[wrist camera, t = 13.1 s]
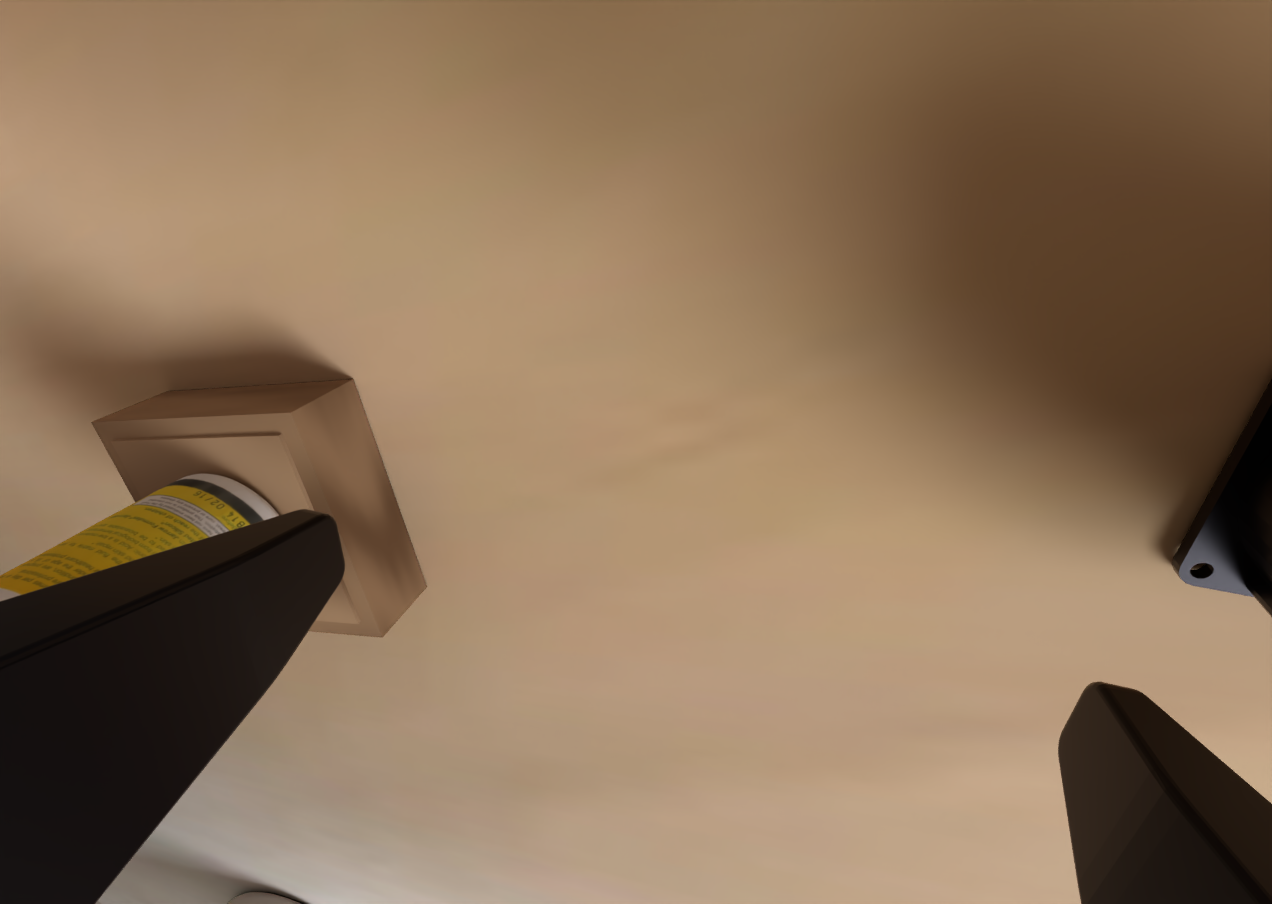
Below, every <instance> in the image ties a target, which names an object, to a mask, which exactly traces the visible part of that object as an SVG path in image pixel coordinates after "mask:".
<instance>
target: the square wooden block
mask: <svg viewBox="0 0 1272 904" xmlns="http://www.w3.org/2000/svg"><path fill="white" fill-rule="evenodd" d="M91 423H92V424H93V426H94V428H95V430H96V432H97V433H98V435H99V437H100V439H101V441H102V443H103V444H104V446H105V448H106V450H107V452H108V453H109V455H110V457H111V459H112V461H113V463H114V464H115V466H116V468H117V470H118V472H119V473H120V475H121V477H122V479H123V481H124V483H125V484H126V486H127V488H128V490H129V492H130V493H131V495H132V497H133V499H134V501H135V502H137V501H139V500H141V499H143V498H145V497H146V496H148V495H150V494H152V493H153V492H155V491H157V490H159V489H161V488H163V487H165V486H167V485H168V484H170V483H172V482H175V481H177V480H179V479H181V478H183V477H186V476H190V475H193V474H214V475H219V476H224V477H227V478H230V479H232V480H235V481H237V482H239V483H241V484H243V485H244V486H246V487H248V488H249V489H251V490H252V491H254V492H255V493H257V494H258V495H259V496H261V497H262V498H263V499H264V500H265V501H267V502H268V503H269V504H270V505H271V506H272V507H273V508H274V510H275V511H276V512H277V513H278V514H279V516H280V515H283V514H286V513H289V512H293V511H296V510H300V509H308V510H313V511H318V512H322V513H327V514H329V515H331V516H332V517H333V518H334V519H335V521H336V523H337V526H338V531H339V536H340V541H341V545H342V550H343V555H344V560H345V571H344V576H343V578H342V580H341V582H340V584H339V586H338V587H337V589H336V590H335V592H334V593H333V595H332V596H331V598H330V599H329V601H328V602H327V604H326V605H325V607H324V608H323V610H322V611H321V613H320V614H319V616H318V617H317V619H316V620H315V622H314V623H313V625H312V626H311V628H310V629H309V631H312V632H323V633H335V634H347V635H359V636H371V637H383V636H384V635H385V634H386V633H387V632H388V631H389V630H390V628H391V627H392V626H393V625H394V624H395V623H396V622H397V620H398V619H399V618H400V617H401V616H402V615H403V614H404V613H405V611H406V610H407V609H408V608H409V607H410V606H411V605H412V603H413V602H414V601H415V600H416V599H417V598H418V597H419V595H420V594H421V593H422V592H423V591H424V590H425V589H426V587H427V586H426V583H425V580H424V577H423V574H422V572H421V569H420V566H419V563H418V560H417V557H416V555H415V552H414V549H413V546H412V543H411V541H410V538H409V535H408V532H407V529H406V526H405V524H404V521H403V518H402V515H401V512H400V510H399V507H398V504H397V501H396V498H395V496H394V493H393V490H392V487H391V484H390V481H389V479H388V476H387V473H386V470H385V467H384V465H383V462H382V459H381V456H380V453H379V451H378V448H377V445H376V442H375V439H374V436H373V434H372V431H371V428H370V425H369V422H368V420H367V417H366V414H365V411H364V408H363V405H362V403H361V400H360V397H359V394H358V391H357V389H356V386H355V383H354V380H353V379H350V380H334V381H319V382H304V383H289V384H274V385H258V386H243V387H228V388H213V389H198V390H183V391H167V392H165V393H162V394H160V395H157V396H155V397H152V398H150V399H147V400H145V401H142V402H140V403H137V404H135V405H132V406H130V407H128V408H125V409H123V410H120V411H118V412H115V413H113V414H110V415H108V416H105V417H103V418H100V419H98V420H96V421H93V422H91Z"/></svg>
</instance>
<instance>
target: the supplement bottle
mask: <svg viewBox="0 0 1272 904" xmlns="http://www.w3.org/2000/svg"><path fill="white" fill-rule="evenodd" d="M276 516H279V514H278V513H277V512H276V511H275V510H274V508H273V507H272V506H271V505H270V504H269V503H268V502H267V501H265V500H264V499H263V498H262V497H261V496H259V495H258V494H257V493H255V492H254V491H252V490H251V489H249V488H248V487H246V486H244V485H243V484H241V483H239V482H237V481H235V480H232V479H230V478H227V477H224V476H219V475H214V474H193V475H190V476H186V477H183V478H181V479H179V480H177V481H175V482H172V483H170V484H168V485H167V486H165V487H163V488H161V489H159V490H157V491H155V492H153V493H152V494H150V495H148V496H146V497H145V498H143V499H141V500H139V501H137V502H135V503H134V504H132V505H130V506H128V507H126V508H124V509H122V510H121V511H119V512H117V513H115V514H113V515H111V516H109V517H107V518H106V519H104V520H102V521H100V522H98V523H96V524H95V525H93V526H91V527H89V528H87V529H86V530H84V531H82V532H80V533H78V534H76V535H75V536H73V537H71V538H69V539H67V540H66V541H64V542H62V543H60V544H58V545H57V546H55V547H53V548H51V549H49V550H48V551H46V552H44V553H42V554H40V555H38V556H36V557H35V558H33V559H31V560H29V561H27V562H25V563H23V564H21V565H20V566H18V567H16V568H14V569H12V570H10V571H8V572H6V573H5V574H3V575H1V576H0V601H3V600H6V599H9V598H12V597H16V596H19V595H22V594H26V593H29V592H32V591H35V590H39V589H42V588H45V587H48V586H52V585H55V584H58V583H61V582H65V581H68V580H71V579H74V578H78V577H81V576H84V575H87V574H91V573H94V572H97V571H100V570H104V569H107V568H110V567H113V566H117V565H120V564H123V563H126V562H130V561H133V560H136V559H140V558H143V557H146V556H149V555H153V554H156V553H159V552H162V551H166V550H169V549H172V548H175V547H179V546H182V545H185V544H188V543H192V542H195V541H198V540H201V539H205V538H208V537H211V536H214V535H218V534H221V533H224V532H227V531H231V530H234V529H237V528H240V527H244V526H247V525H250V524H253V523H257V522H260V521H263V520H267V519H270V518H273V517H276Z"/></svg>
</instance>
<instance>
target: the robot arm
mask: <svg viewBox="0 0 1272 904" xmlns="http://www.w3.org/2000/svg"><path fill="white" fill-rule="evenodd" d="M1199 563H1206V564H1205V565H1204V566H1203V567H1202V568H1199V569H1197V570H1190V569H1191V568H1192V567H1193V566H1194V565H1196V564H1199ZM1172 565H1173V568H1174V570H1175V572H1176V573H1177V574H1178V576H1179V577H1180V578H1181V579H1182V580H1183V581H1184V582H1185V583H1187V584H1190V585H1193V586H1198V587H1203V588H1209V589H1214V590H1219V591H1225V592H1230V593H1236V594H1241V595H1246V596H1252V597H1255V598H1256V599H1257V601H1258V602H1259V603H1260V604H1261V605H1262V606H1263V607H1264V609H1265V610H1266V611H1267V612H1268V613H1269V614H1270V616H1271V617H1272V380H1271V382H1270V383H1269V385H1268V387H1267V389H1266V391H1265V392H1264V394H1263V396H1262V398H1261V400H1260V402H1259V403H1258V405H1257V407H1256V409H1255V411H1254V413H1253V414H1252V416H1251V418H1250V420H1249V422H1248V423H1247V425H1246V427H1245V429H1244V431H1243V433H1242V434H1241V436H1240V438H1239V440H1238V442H1237V443H1236V445H1235V447H1234V449H1233V451H1232V453H1231V454H1230V456H1229V458H1228V460H1227V462H1226V464H1225V465H1224V467H1223V469H1222V471H1221V473H1220V474H1219V476H1218V478H1217V480H1216V482H1215V484H1214V485H1213V487H1212V489H1211V491H1210V493H1209V494H1208V496H1207V498H1206V500H1205V502H1204V504H1203V505H1202V507H1201V509H1200V511H1199V513H1198V515H1197V516H1196V518H1195V520H1194V522H1193V524H1192V525H1191V527H1190V529H1189V531H1188V533H1187V535H1186V536H1185V538H1184V540H1183V542H1182V544H1181V545H1180V547H1179V549H1178V551H1177V553H1176V555H1175V556H1174V558H1173V562H1172ZM344 571H345V560H344V555H343V550H342V545H341V541H340V536H339V531H338V526H337V523H336V521H335V519H334V518H333V517H332V516H331V515H329V514H327V513H322V512H318V511H313V510H308V509H300V510H296V511H293V512H289V513H286V514H283V515H280V516H276V517H273V518H270V519H267V520H263V521H260V522H257V523H253V524H250V525H247V526H244V527H240V528H237V529H234V530H231V531H227V532H224V533H221V534H218V535H214V536H211V537H208V538H205V539H201V540H198V541H195V542H192V543H188V544H185V545H182V546H179V547H175V548H172V549H169V550H166V551H162V552H159V553H156V554H153V555H149V556H146V557H143V558H140V559H136V560H133V561H130V562H126V563H123V564H120V565H117V566H113V567H110V568H107V569H104V570H100V571H97V572H94V573H91V574H87V575H84V576H81V577H78V578H74V579H71V580H68V581H65V582H61V583H58V584H55V585H52V586H48V587H45V588H42V589H39V590H35V591H32V592H29V593H26V594H22V595H19V596H16V597H12V598H9V599H6V600H3V601H0V904H95V903H96V902H97V901H98V899H99V898H100V897H101V896H102V894H103V893H104V892H105V891H106V890H107V888H108V887H109V886H110V885H111V883H112V882H113V881H114V880H115V878H116V877H117V876H118V875H119V873H120V872H121V871H122V870H123V868H124V867H125V866H126V865H127V863H128V862H129V861H130V860H131V859H132V857H133V856H134V855H135V854H136V852H137V851H138V850H139V849H140V847H141V846H142V845H143V844H144V842H145V841H146V840H147V839H148V837H149V836H150V835H151V834H152V832H153V831H154V830H155V829H156V828H157V826H158V825H159V824H160V823H161V821H162V820H163V819H164V818H165V816H166V815H167V814H168V813H169V811H170V810H171V809H172V808H173V806H174V805H175V804H176V803H177V802H178V800H179V799H180V798H181V797H182V795H183V794H184V793H185V792H186V790H187V789H188V788H189V787H190V785H191V784H192V783H193V782H194V780H195V779H196V778H197V777H198V775H199V774H200V773H201V772H202V771H203V769H204V768H205V767H206V766H207V764H208V763H209V762H210V761H211V759H212V758H213V757H214V756H215V754H216V753H217V752H218V751H219V749H220V748H221V747H222V746H223V744H224V743H225V742H226V741H227V740H228V738H229V737H230V736H231V735H232V733H233V732H234V731H235V730H236V728H237V727H238V726H239V725H240V723H241V722H242V721H243V720H244V718H245V717H246V716H247V715H248V713H249V712H250V711H251V710H252V709H253V707H254V706H255V705H256V704H257V702H258V701H259V700H260V699H261V697H262V696H263V695H264V694H265V692H266V691H267V690H268V688H269V687H270V686H271V684H272V683H273V682H274V681H275V679H276V678H277V676H278V675H279V674H280V672H281V671H282V669H283V668H284V666H285V665H286V664H287V662H288V661H289V659H290V658H291V656H292V655H293V653H294V652H295V650H296V649H297V647H298V646H299V644H300V643H301V641H302V640H303V638H304V637H305V635H306V634H307V632H308V631H309V629H310V628H311V626H312V625H313V623H314V622H315V620H316V619H317V617H318V616H319V614H320V613H321V611H322V610H323V608H324V607H325V605H326V604H327V602H328V601H329V599H330V598H331V596H332V595H333V593H334V592H335V590H336V589H337V587H338V586H339V584H340V582H341V580H342V578H343V576H344ZM1058 755H1059V763H1060V770H1061V776H1062V783H1063V790H1064V796H1065V803H1066V809H1067V816H1068V823H1069V829H1070V836H1071V843H1072V849H1073V856H1074V862H1075V869H1076V876H1077V882H1078V888H1079V893H1080V899H1081V904H1272V804H1271V803H1270V802H1269V801H1268V800H1267V799H1265V798H1264V797H1263V796H1262V795H1261V794H1260V793H1258V792H1257V791H1256V790H1255V789H1254V788H1253V787H1251V786H1250V785H1249V784H1248V783H1247V782H1246V781H1244V780H1243V779H1242V778H1241V777H1240V776H1239V775H1237V774H1236V773H1235V772H1234V771H1233V770H1232V769H1231V768H1229V767H1228V766H1227V765H1226V764H1225V763H1224V762H1222V761H1221V760H1220V759H1219V758H1218V757H1217V756H1215V755H1214V754H1213V753H1212V752H1211V751H1210V750H1208V749H1207V748H1206V747H1205V746H1204V745H1203V744H1202V743H1200V742H1199V741H1198V740H1197V739H1196V738H1195V737H1193V736H1192V735H1191V734H1190V733H1189V732H1188V731H1186V730H1185V729H1184V728H1183V727H1182V726H1181V725H1179V724H1178V723H1177V722H1176V721H1175V720H1174V719H1173V718H1171V717H1170V716H1169V715H1168V714H1167V713H1166V712H1164V711H1163V710H1162V709H1161V708H1160V707H1159V706H1157V705H1156V704H1155V703H1154V702H1153V701H1152V700H1150V699H1149V698H1148V697H1147V696H1146V695H1144V694H1143V693H1141V692H1139V691H1137V690H1135V689H1131V688H1127V687H1122V686H1118V685H1113V684H1108V683H1104V682H1093V683H1091V684H1089V685H1088V686H1087V687H1086V688H1085V690H1084V691H1083V693H1082V695H1081V696H1080V698H1079V700H1078V702H1077V704H1076V706H1075V708H1074V710H1073V712H1072V713H1071V715H1070V717H1069V719H1068V721H1067V723H1066V725H1065V727H1064V729H1063V730H1062V733H1061V736H1060V739H1059V746H1058Z"/></svg>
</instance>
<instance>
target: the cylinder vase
mask: <svg viewBox="0 0 1272 904" xmlns="http://www.w3.org/2000/svg"><path fill="white" fill-rule="evenodd" d="M227 904H301V903H298V902H296V901H294V900H291V899H288V898H285V897H282V896H279V895H275V894H270V893H263V892H251V893H245V894H242V895H239V896H237V897H235V898H233V899H232V900H231V901H229V902H228V903H227Z"/></svg>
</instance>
